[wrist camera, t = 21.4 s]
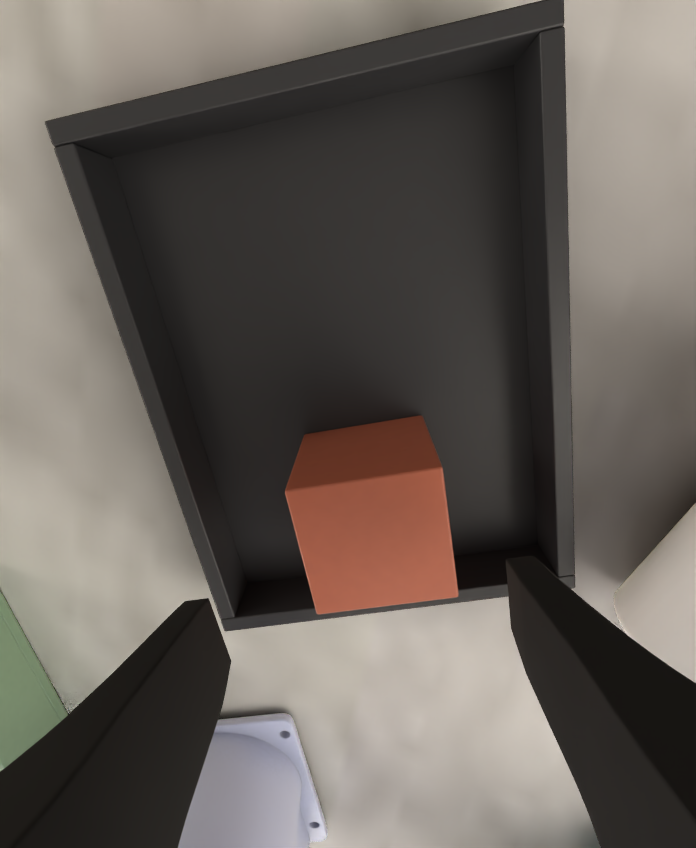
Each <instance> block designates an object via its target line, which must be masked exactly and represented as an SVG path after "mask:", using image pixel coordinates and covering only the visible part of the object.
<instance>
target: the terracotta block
mask: <svg viewBox="0 0 696 848" xmlns="http://www.w3.org/2000/svg"><path fill="white" fill-rule="evenodd" d="M285 495H286V499H287V503H288V507H289V510H290V514H291V518H292V522H293V526H294V529H295V533H296V537H297V541H298V545H299V549H300V552H301V556H302V560H303V564H304V568H305V571H306V575H307V579H308V583H309V587H310V591H311V594H312V598H313V602H314V606H315V610H316V613H317V614H326V613H334V612H342V611H350V610H358V609H366V608H374V607H382V606H390V605H398V604H406V603H414V602H422V601H430V600H438V599H446V598H455V597H458V595H459V593H458V585H457V577H456V569H455V561H454V553H453V545H452V537H451V530H450V522H449V514H448V506H447V498H446V490H445V482H444V474H443V468H442V465H441V462H440V460H439V457H438V455H437V452H436V449H435V447H434V444H433V442H432V439H431V436H430V434H429V431H428V429H427V426H426V423H425V421H424V418H423V416H421V415H420V416H414V417H408V418H401V419H395V420H389V421H383V422H377V423H371V424H365V425H359V426H352V427H346V428H340V429H334V430H328V431H322V432H316V433H310V434H305V435H304V437H303V440H302V443H301V445H300V448H299V451H298V454H297V457H296V460H295V463H294V466H293V469H292V472H291V475H290V478H289V480H288V483H287V486H286V489H285Z"/></svg>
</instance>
